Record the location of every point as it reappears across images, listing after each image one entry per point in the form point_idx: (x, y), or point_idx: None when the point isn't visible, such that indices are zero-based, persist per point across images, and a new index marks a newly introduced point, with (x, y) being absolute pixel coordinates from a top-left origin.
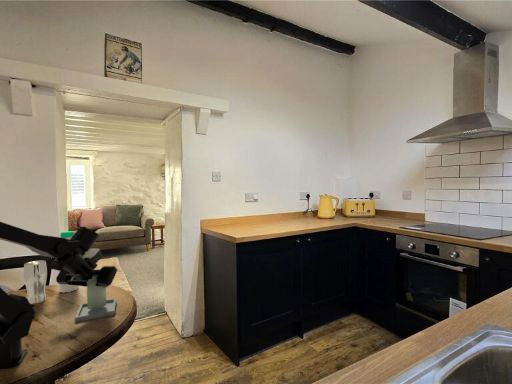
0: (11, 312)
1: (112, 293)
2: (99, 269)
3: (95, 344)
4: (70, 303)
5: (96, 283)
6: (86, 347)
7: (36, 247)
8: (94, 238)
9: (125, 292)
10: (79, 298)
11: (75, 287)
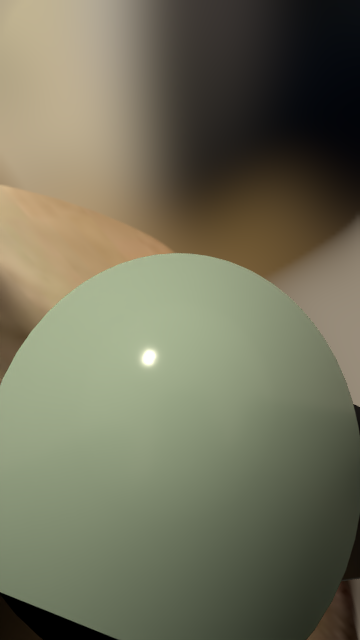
0: None
1: (121, 251)
2: (138, 269)
3: (349, 591)
4: (17, 340)
5: (347, 578)
6: (342, 626)
7: None
8: None
9: (157, 242)
10: (24, 298)
11: None
